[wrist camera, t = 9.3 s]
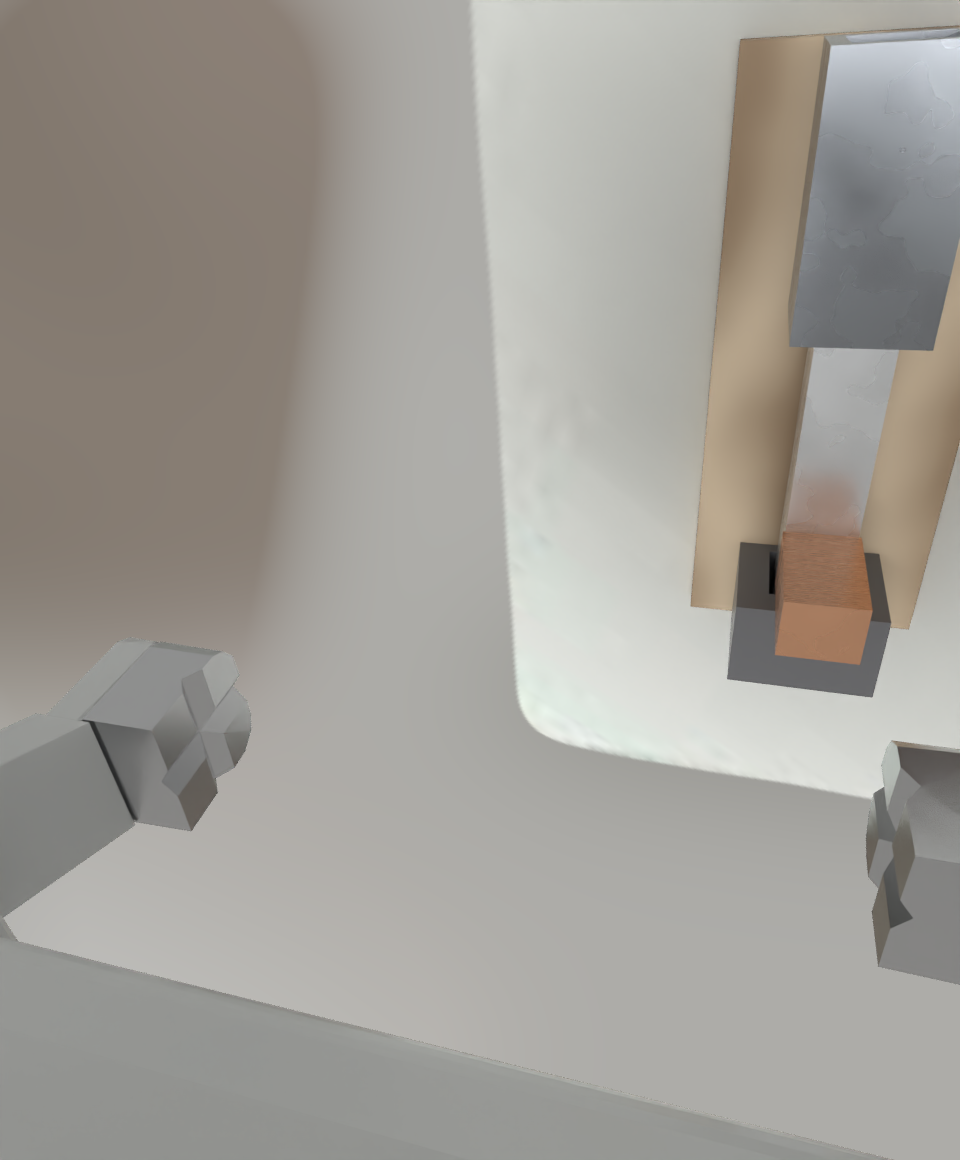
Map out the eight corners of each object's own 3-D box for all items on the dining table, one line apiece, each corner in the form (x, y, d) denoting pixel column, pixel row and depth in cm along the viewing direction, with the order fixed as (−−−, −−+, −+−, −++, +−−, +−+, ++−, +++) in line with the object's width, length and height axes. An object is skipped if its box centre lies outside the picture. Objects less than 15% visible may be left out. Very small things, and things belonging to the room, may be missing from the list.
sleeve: (977, 26, 27) (1007, 35, 24) (915, 308, 32) (933, 350, 29) (824, 36, 29) (830, 45, 25) (788, 306, 34) (789, 346, 30)
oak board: (1065, 18, 28) (1073, 20, 27) (906, 616, 41) (908, 629, 40) (741, 39, 30) (740, 41, 29) (692, 594, 44) (690, 606, 43)
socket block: (879, 553, 39) (891, 623, 34) (862, 624, 41) (872, 697, 37) (740, 542, 40) (736, 607, 36) (731, 610, 42) (727, 679, 38)
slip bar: (903, 275, 31) (934, 350, 25) (834, 610, 40) (845, 727, 34) (816, 274, 32) (825, 347, 26) (766, 603, 41) (765, 716, 34)
